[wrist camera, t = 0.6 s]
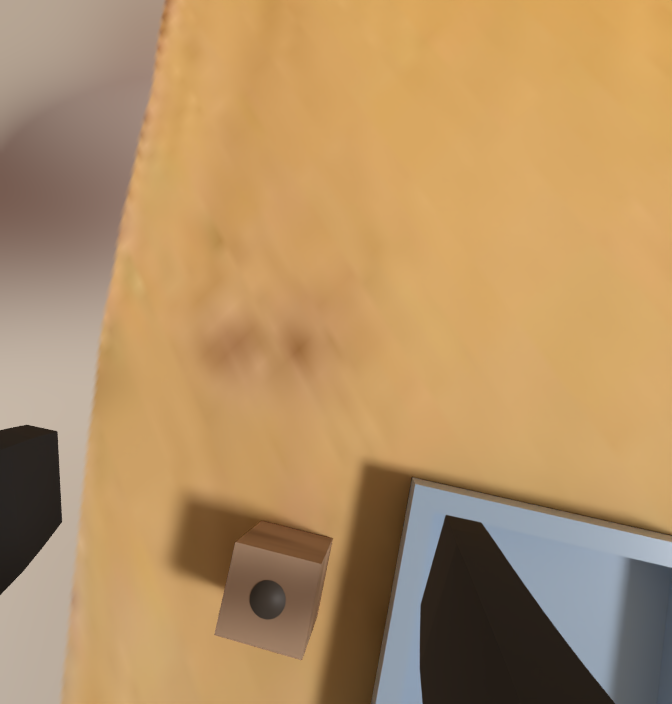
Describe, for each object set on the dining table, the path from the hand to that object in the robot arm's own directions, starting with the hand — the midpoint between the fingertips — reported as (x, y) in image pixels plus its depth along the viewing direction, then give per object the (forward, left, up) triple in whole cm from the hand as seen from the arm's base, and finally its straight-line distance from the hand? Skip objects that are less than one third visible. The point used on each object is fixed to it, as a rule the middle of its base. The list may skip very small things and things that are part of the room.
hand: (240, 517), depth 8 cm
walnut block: (-8, +2, -20) cm, 22 cm away
